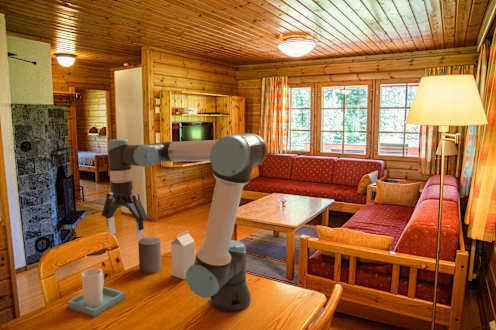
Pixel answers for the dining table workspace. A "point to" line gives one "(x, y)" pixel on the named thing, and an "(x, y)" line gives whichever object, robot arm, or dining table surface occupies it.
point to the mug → (92, 287)
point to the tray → (109, 300)
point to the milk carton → (182, 254)
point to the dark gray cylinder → (149, 255)
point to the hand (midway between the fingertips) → (125, 236)
